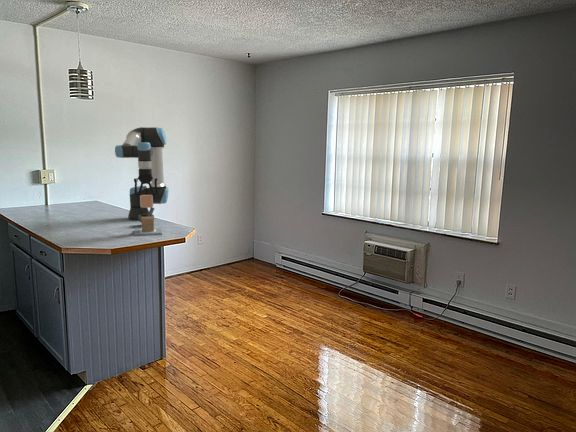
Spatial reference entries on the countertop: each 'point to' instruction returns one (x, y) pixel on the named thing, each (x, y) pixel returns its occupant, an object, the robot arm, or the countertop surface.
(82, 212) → the countertop surface
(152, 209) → the mortar and pestle
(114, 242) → the countertop surface
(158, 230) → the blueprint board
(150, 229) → the walnut block
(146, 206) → the terracotta block
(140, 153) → the robot arm
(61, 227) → the countertop surface
